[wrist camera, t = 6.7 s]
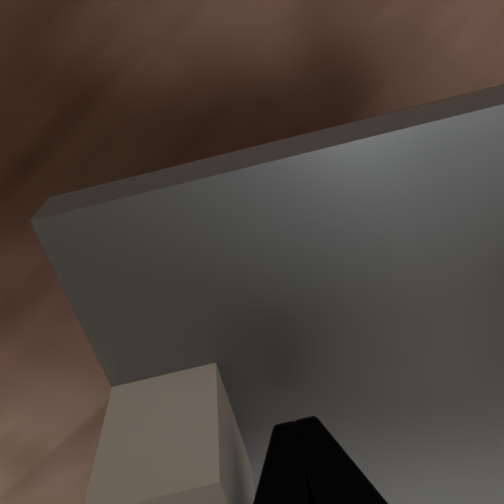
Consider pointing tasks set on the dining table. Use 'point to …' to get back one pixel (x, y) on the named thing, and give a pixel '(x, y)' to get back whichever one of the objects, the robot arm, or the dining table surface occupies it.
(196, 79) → the dining table surface
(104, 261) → the sliding cover
